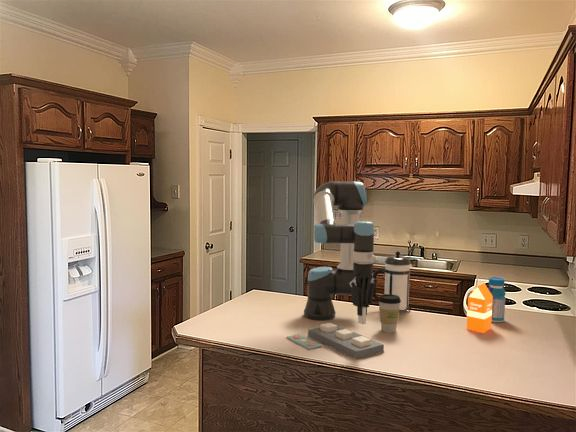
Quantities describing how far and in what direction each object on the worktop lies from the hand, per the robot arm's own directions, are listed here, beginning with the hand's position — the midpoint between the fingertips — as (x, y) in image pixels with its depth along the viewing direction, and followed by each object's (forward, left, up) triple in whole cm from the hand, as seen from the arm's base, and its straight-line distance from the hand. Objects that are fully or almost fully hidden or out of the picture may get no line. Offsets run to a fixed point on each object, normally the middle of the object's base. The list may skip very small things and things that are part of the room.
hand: (361, 323), depth 183 cm
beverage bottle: (+3, +82, -11) cm, 83 cm away
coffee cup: (-13, +28, -11) cm, 33 cm away
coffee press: (-34, +53, -11) cm, 64 cm away
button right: (0, 0, -10) cm, 10 cm away
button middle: (-10, 0, -10) cm, 14 cm away
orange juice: (+7, +64, -11) cm, 66 cm away
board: (-10, 0, -11) cm, 15 cm away
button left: (-20, 0, -10) cm, 22 cm away
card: (-20, -13, -11) cm, 26 cm away
